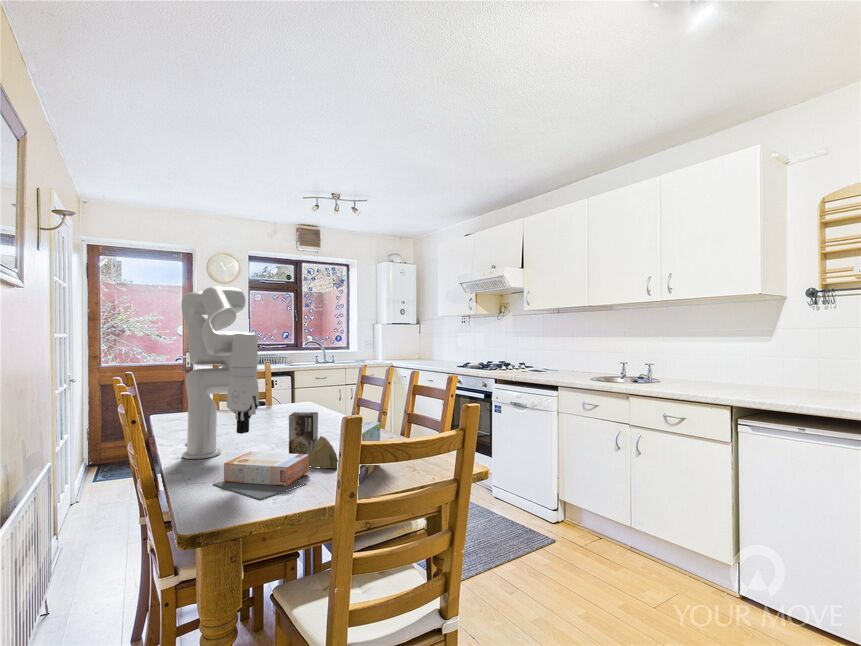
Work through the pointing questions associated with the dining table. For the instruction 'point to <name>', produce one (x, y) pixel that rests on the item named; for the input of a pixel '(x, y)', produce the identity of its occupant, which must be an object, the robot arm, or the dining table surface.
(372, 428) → the snack box
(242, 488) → the mat
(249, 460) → the cracker box
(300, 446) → the coffee box
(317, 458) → the rock
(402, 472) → the dining table surface
